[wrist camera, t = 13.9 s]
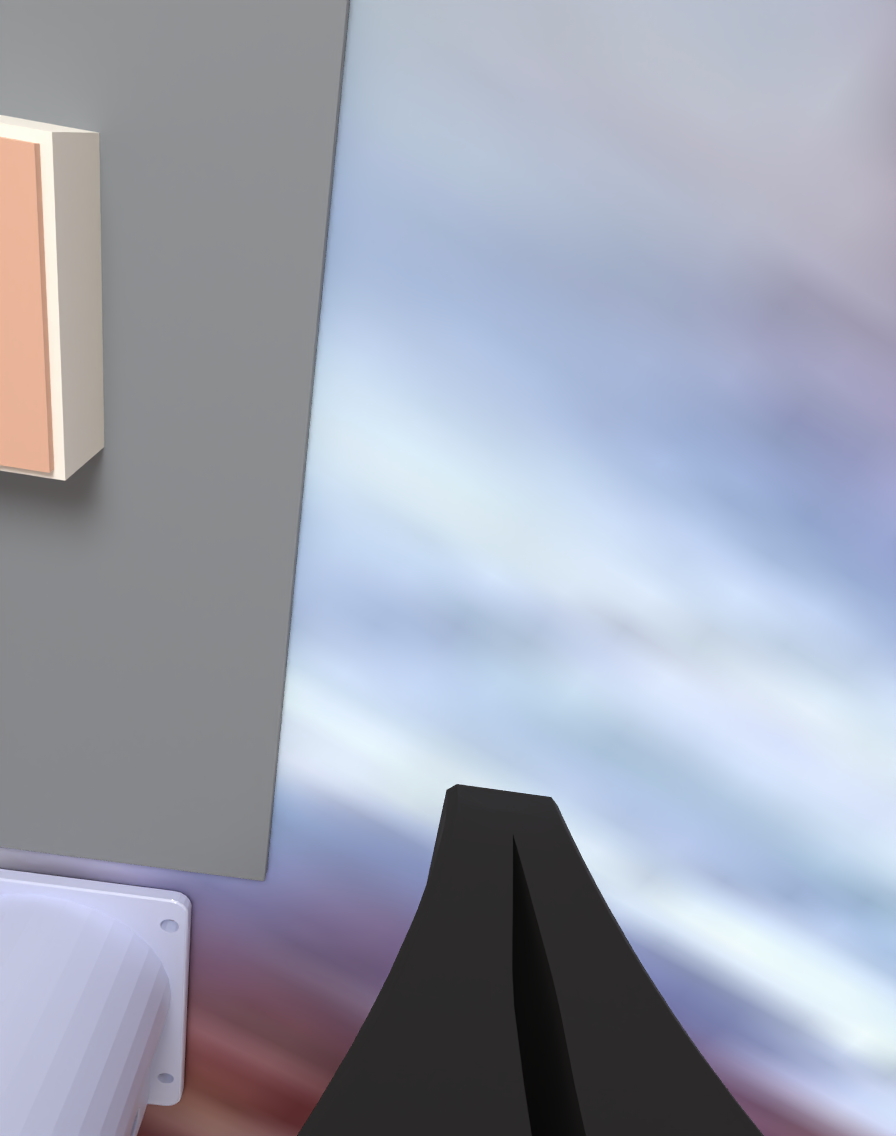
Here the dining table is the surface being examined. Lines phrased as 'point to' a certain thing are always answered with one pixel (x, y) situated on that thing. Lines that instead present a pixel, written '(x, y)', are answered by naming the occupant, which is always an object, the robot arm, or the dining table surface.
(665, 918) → the dining table surface
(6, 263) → the tile
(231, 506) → the mat
